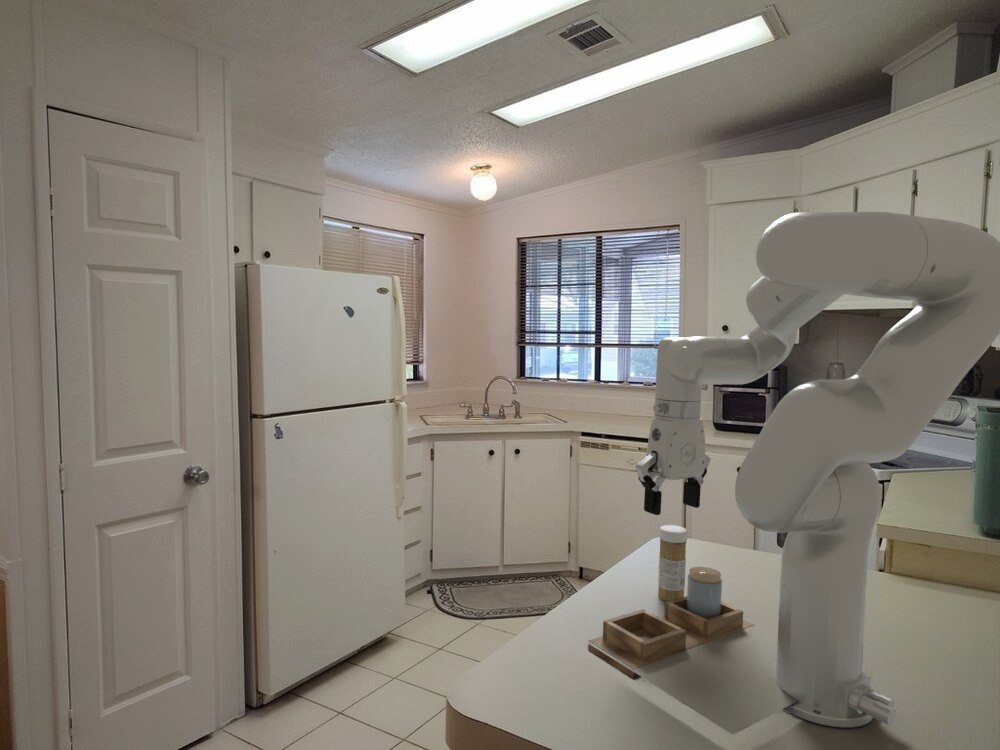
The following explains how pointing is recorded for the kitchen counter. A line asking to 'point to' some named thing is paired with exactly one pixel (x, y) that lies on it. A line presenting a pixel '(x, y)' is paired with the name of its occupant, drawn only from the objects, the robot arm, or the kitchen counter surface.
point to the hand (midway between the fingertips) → (672, 509)
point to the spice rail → (661, 634)
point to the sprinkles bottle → (672, 562)
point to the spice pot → (704, 592)
